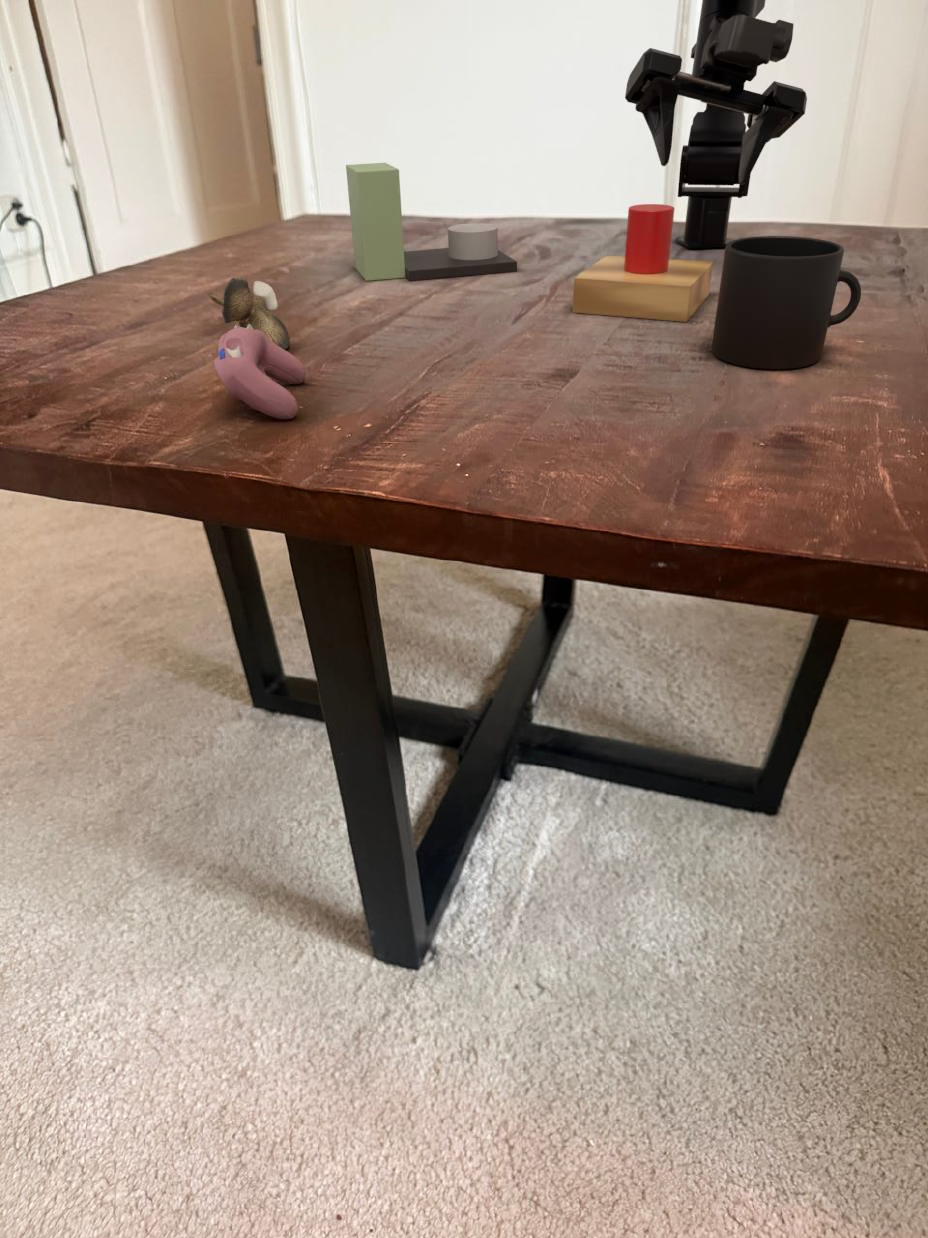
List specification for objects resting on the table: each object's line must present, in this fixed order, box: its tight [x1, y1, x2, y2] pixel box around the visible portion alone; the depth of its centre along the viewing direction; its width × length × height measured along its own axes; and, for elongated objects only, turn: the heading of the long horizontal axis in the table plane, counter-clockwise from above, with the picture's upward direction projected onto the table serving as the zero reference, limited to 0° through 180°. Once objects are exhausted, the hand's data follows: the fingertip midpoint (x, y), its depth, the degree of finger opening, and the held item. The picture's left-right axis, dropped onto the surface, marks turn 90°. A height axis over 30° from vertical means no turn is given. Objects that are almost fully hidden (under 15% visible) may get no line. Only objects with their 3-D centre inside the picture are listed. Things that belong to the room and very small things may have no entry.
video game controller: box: [214, 324, 307, 420], centre depth 67 cm, size 10×5×7 cm, turn 5°
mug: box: [711, 235, 862, 370], centre depth 73 cm, size 9×12×9 cm
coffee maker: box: [345, 162, 518, 282], centre depth 106 cm, size 19×12×12 cm, turn 106°
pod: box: [624, 203, 675, 274], centre depth 88 cm, size 5×5×6 cm
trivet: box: [572, 254, 714, 323], centre depth 90 cm, size 12×12×4 cm
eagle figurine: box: [205, 277, 291, 350], centre depth 81 cm, size 8×7×9 cm
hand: (704, 173), depth 92 cm, fingers open, 9 cm apart
